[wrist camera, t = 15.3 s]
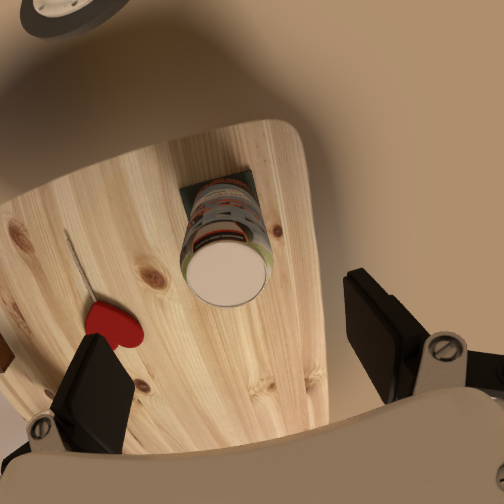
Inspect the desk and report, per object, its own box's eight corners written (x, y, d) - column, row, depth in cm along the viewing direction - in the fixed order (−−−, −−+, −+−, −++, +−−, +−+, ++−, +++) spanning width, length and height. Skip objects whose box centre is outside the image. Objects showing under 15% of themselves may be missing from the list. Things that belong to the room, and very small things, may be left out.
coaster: (179, 188, 27) (179, 189, 27) (250, 169, 27) (251, 170, 27) (199, 254, 30) (199, 256, 29) (266, 237, 30) (267, 238, 29)
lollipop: (44, 248, 27) (98, 350, 33) (40, 251, 26) (96, 355, 32) (97, 227, 27) (150, 341, 33) (94, 229, 26) (149, 346, 32)
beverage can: (255, 173, 27) (280, 198, 16) (260, 246, 29) (283, 313, 18) (188, 179, 26) (164, 209, 15) (197, 252, 29) (185, 323, 18)
